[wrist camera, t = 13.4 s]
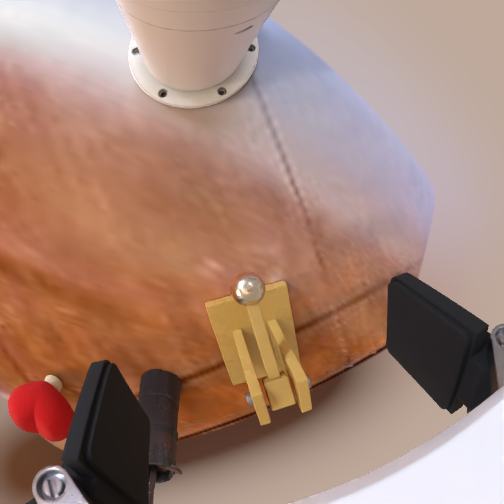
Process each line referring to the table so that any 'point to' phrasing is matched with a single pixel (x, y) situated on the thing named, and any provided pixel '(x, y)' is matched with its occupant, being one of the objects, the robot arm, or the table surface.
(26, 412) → the red rounded lump
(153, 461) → the butter churn
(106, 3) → the table surface
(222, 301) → the bracket
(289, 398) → the switch lever
